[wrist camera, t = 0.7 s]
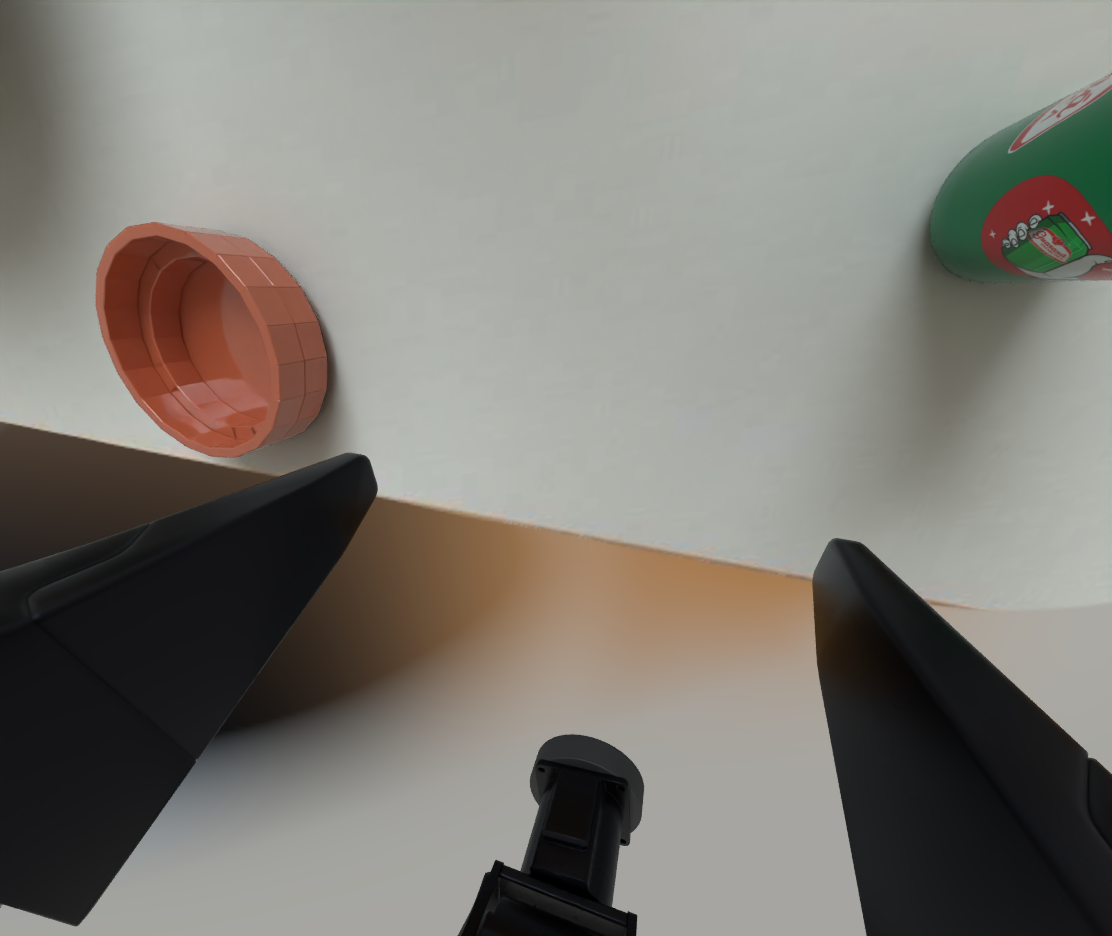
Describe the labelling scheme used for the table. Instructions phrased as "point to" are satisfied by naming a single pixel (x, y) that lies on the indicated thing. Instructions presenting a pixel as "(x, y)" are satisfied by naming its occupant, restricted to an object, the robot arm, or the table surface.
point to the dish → (210, 337)
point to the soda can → (1034, 198)
